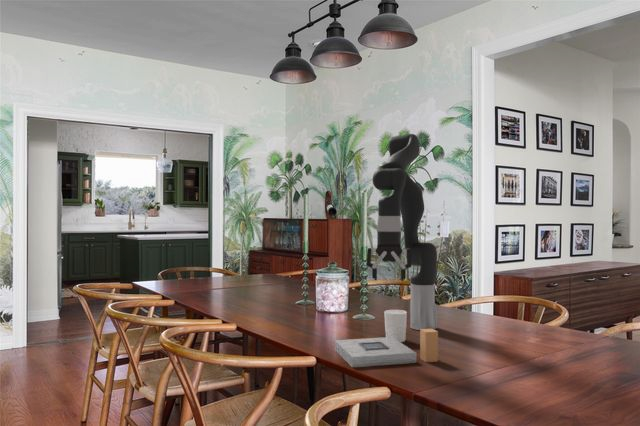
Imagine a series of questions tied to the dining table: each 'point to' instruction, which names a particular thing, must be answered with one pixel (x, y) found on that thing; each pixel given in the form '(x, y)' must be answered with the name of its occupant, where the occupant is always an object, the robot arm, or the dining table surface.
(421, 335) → the tan wooden block
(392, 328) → the white cup
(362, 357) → the slab with square hole
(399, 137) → the robot arm
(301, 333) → the dining table surface
